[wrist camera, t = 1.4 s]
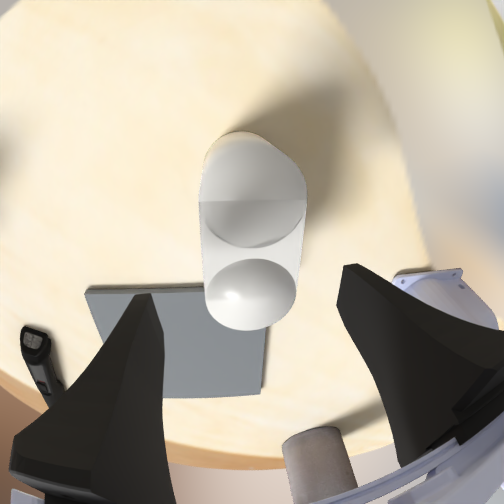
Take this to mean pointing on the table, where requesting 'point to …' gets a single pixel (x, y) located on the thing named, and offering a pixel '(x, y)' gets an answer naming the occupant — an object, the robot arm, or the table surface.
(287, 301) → the block
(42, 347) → the electric trimmer
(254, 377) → the slate mat
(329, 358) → the table surface
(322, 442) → the pillar candle
